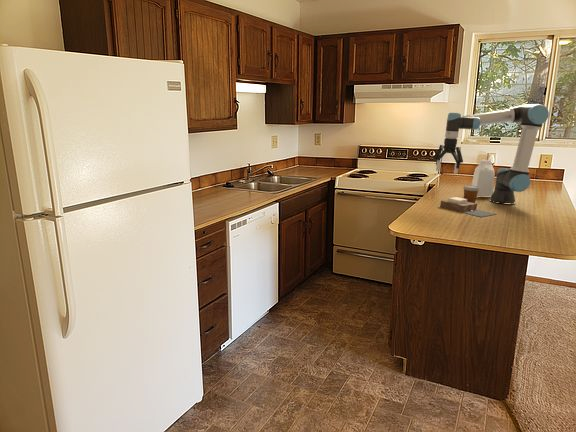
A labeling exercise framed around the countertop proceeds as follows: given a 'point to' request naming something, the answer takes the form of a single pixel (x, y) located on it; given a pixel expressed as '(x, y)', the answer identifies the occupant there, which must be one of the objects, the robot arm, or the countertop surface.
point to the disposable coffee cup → (470, 193)
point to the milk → (484, 178)
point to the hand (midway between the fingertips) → (446, 172)
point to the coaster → (457, 200)
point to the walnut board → (458, 206)
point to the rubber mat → (479, 213)
